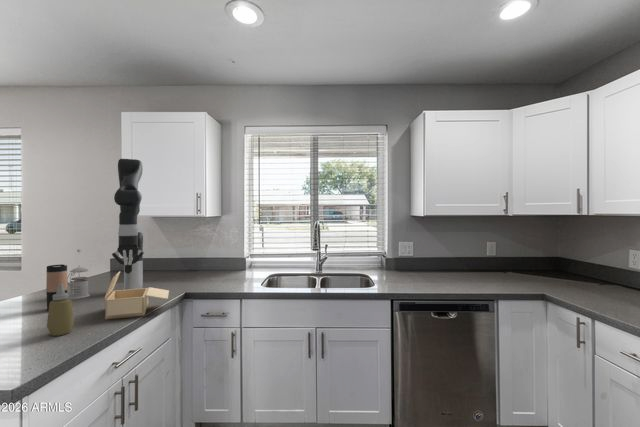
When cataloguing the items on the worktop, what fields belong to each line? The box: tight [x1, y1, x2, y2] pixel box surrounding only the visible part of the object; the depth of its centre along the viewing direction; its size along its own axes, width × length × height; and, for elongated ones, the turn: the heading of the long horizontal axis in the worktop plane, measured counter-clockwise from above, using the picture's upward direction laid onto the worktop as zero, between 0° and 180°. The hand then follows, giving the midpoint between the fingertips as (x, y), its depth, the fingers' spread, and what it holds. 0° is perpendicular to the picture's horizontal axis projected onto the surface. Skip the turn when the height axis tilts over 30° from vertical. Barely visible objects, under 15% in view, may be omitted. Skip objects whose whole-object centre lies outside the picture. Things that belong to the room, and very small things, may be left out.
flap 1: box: [104, 271, 121, 300], centre depth 150 cm, size 17×1×9 cm, turn 22°
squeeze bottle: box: [46, 284, 75, 337], centre depth 124 cm, size 8×8×18 cm
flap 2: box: [146, 286, 170, 300], centre depth 157 cm, size 17×1×9 cm
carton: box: [104, 287, 149, 320], centre depth 152 cm, size 23×14×8 cm, turn 22°
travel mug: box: [46, 264, 68, 312], centre depth 156 cm, size 8×8×20 cm
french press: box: [67, 248, 91, 300], centre depth 180 cm, size 10×12×25 cm
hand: (128, 273), depth 152 cm, fingers closed
